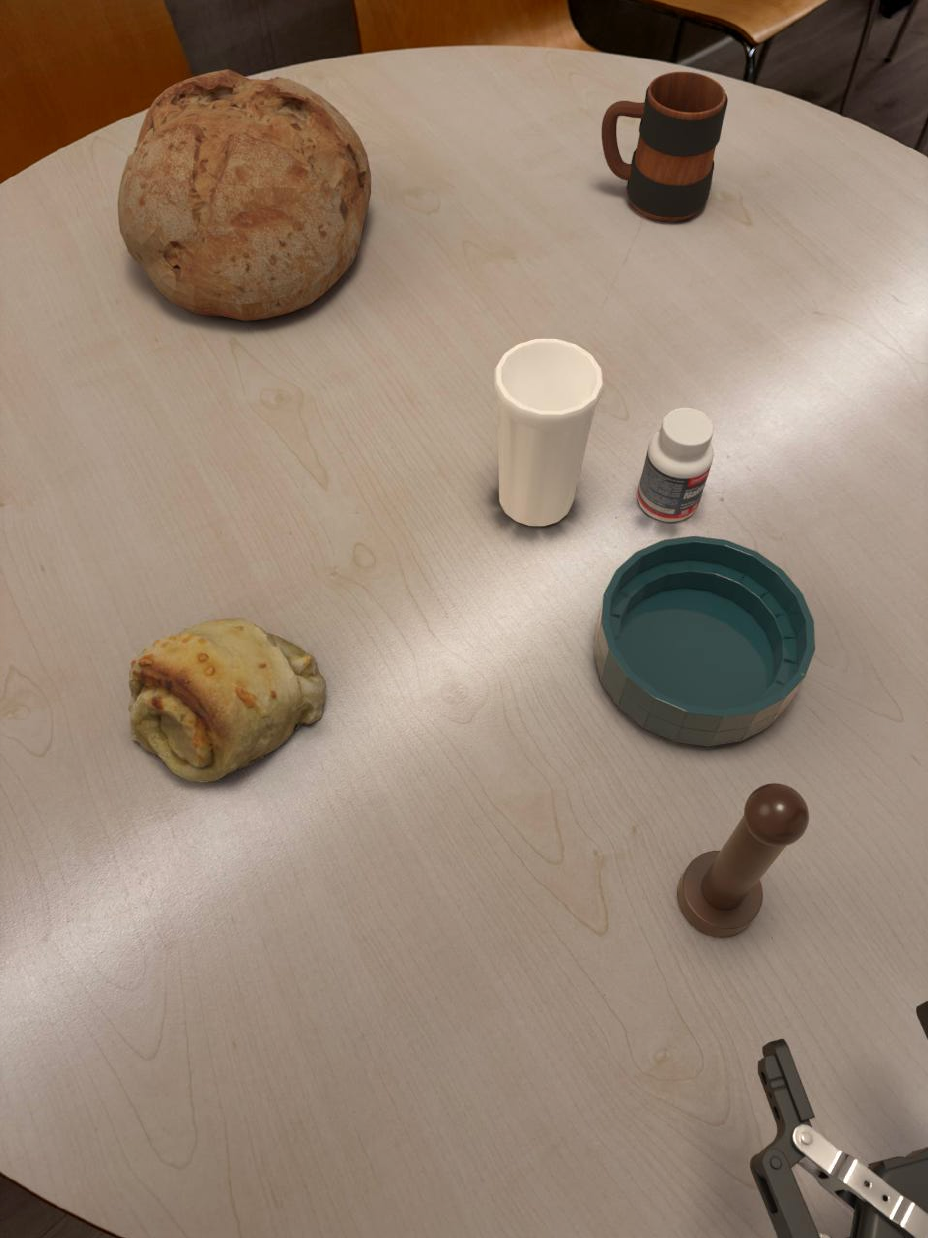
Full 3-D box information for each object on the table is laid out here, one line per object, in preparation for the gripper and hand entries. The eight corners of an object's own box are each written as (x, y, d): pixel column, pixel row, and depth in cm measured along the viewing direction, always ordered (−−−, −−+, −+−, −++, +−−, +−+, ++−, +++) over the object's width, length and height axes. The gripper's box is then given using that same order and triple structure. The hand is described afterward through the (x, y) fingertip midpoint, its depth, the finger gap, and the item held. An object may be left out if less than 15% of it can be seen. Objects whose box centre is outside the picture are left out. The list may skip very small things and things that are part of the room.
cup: (524, 553, 84) (536, 433, 71) (469, 488, 87) (471, 363, 75) (602, 511, 86) (627, 387, 74) (546, 449, 90) (560, 322, 77)
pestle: (725, 847, 70) (794, 742, 56) (771, 914, 68) (854, 823, 54) (662, 882, 69) (716, 783, 55) (706, 951, 67) (774, 867, 53)
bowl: (717, 551, 84) (732, 509, 79) (834, 697, 77) (858, 660, 72) (556, 622, 80) (563, 583, 75) (664, 784, 73) (679, 751, 68)
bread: (336, 346, 96) (319, 206, 83) (98, 317, 98) (45, 176, 85) (391, 175, 110) (384, 33, 97) (181, 152, 112) (147, 10, 99)
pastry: (109, 776, 73) (74, 726, 66) (161, 628, 79) (134, 569, 73) (304, 802, 72) (289, 754, 65) (340, 650, 78) (329, 592, 72)
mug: (596, 167, 111) (610, 60, 101) (707, 178, 110) (732, 71, 100) (589, 217, 107) (603, 110, 97) (705, 229, 106) (731, 122, 96)
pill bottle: (682, 533, 85) (704, 462, 77) (625, 506, 86) (642, 434, 79) (708, 491, 87) (732, 418, 80) (653, 466, 89) (672, 392, 81)
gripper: (1214, 1372, 41) (1010, 970, 50) (890, 1479, 40) (735, 1043, 48) (1113, 1358, 48) (947, 1003, 56) (830, 1449, 46) (702, 1068, 54)
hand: (850, 1022), depth 52 cm, fingers open, 8 cm apart
